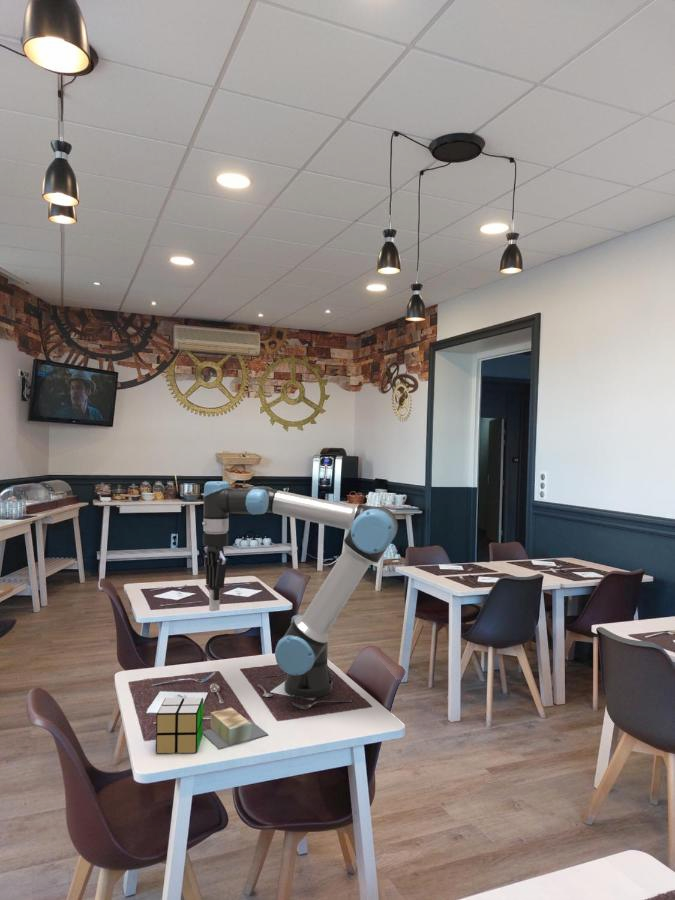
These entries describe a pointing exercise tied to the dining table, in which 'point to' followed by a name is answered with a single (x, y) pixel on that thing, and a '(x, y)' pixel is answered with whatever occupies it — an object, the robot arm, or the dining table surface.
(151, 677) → the dining table surface
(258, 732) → the felt mat
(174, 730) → the puzzle cube
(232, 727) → the maple block
